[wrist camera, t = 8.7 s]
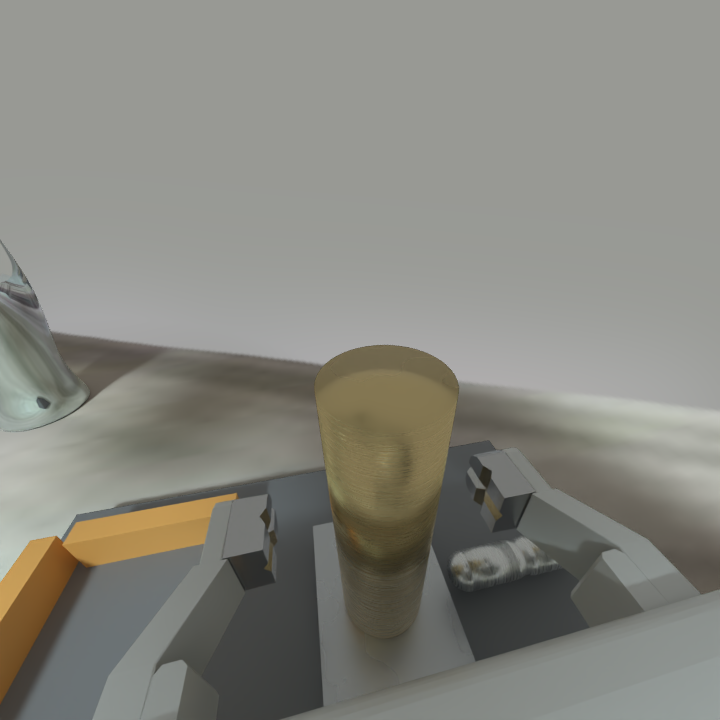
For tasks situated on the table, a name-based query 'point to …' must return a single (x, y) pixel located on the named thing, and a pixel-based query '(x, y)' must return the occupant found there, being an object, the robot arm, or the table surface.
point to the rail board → (255, 612)
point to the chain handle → (393, 525)
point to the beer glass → (30, 358)
